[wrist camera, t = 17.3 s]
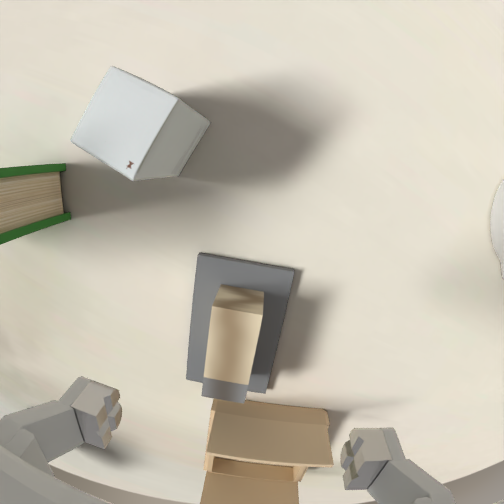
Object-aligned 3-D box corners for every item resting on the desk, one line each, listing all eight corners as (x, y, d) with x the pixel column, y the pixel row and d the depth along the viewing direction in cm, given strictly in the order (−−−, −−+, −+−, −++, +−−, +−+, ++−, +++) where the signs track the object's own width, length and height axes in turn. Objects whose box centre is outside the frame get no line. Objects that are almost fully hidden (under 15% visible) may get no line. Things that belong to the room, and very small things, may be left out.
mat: (293, 268, 36) (294, 271, 35) (265, 389, 41) (265, 393, 40) (199, 252, 36) (197, 254, 35) (187, 375, 41) (186, 379, 40)
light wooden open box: (327, 409, 42) (338, 464, 31) (299, 469, 46) (301, 517, 36) (214, 394, 42) (201, 450, 31) (206, 458, 46) (195, 506, 36)
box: (263, 291, 36) (262, 315, 30) (247, 373, 39) (244, 403, 34) (220, 284, 36) (212, 306, 30) (210, 367, 39) (201, 395, 34)
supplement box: (213, 122, 32) (182, 98, 20) (178, 178, 34) (132, 185, 22) (160, 92, 32) (110, 62, 20) (128, 147, 34) (67, 142, 21)
